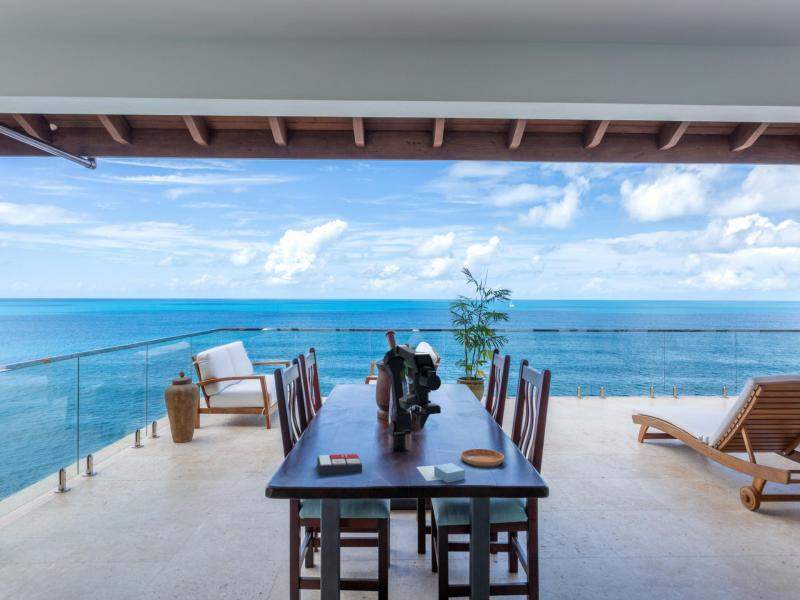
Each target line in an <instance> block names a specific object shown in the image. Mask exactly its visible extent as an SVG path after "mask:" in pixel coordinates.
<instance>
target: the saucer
mask: <svg viewBox="0 0 800 600" xmlns="http://www.w3.org/2000/svg"><path fill="white" fill-rule="evenodd" d="M460 457H461V459H462V461H463V462H464V463H466V464H467V465H471V466H475V467H482V468H483V467H484V468H487V467H488V468H489V467H494V468H496V467H498V466H499V465H500V464H502V463H503V461H504V459H505V456H504V454H503V453H501V452H499V451H496V450H492V449H487V448H471V449H466V450H464V451H462V452H461V453H460ZM470 457H471V458H470Z"/></svg>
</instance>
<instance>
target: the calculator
mask: <svg viewBox="0 0 800 600" xmlns="http://www.w3.org/2000/svg"><path fill="white" fill-rule="evenodd" d="M316 461H317V462H316V468H317V472H318V476H319V475H323V476H331V475H339V474H343V475H344V474H353V473H354V474H355V473H356V472H357V473H362V472H363V463H362V461H361V459H360V457H359V455H358V454H357V453H350V454H349V453H348V454H347V453H346V454H345V453H343V454H342V453H341V454H330V455H329V454H327V455H324V454H323V455H318V456H317V459H316Z"/></svg>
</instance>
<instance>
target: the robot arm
mask: <svg viewBox="0 0 800 600" xmlns="http://www.w3.org/2000/svg"><path fill="white" fill-rule="evenodd" d="M406 361H408V362H409V366H410V367H411V368H412V370H411V371H410V372H411V374H412V375H413V376H412V378H413V379H412V383H413V384H412V385H413V386H412V387H413V388H411V389H410V393H408V394H406V395H405V394H404V386H403V379H402V372H403V370H404V368H405V362H406ZM382 363H383V365H384V369H385V371H386V372H387V374H388V375H389V381H390V389H391V397H392V406H393V412H392V413H391V416H390V423H389V424H388V427H387V434H388V435H389V436H391V437H392V441H391V442H392V445H390V449H391V451H392V452H394V453H395V452H408V451H409V448H408V446H407V435H412V431H413V420H412V413H413V414H414V415H415V418H416V422H417V425H418V427H419V429H420V430H422V429H424V427H425V424H426V423H427V421H428V419H429V417H430V415H435V414H441V413H442V407H441V406H440V405H439V404H436V403H432V400H430V396H429V393H431V392H432V391H433V392H435V391H437V390H439V389H440V388H441V385H442V379H441V378H440V376H439V375H438V374H437V372H436V371H437V370H436V365H435V363H434V361H433V358H432V356H431V354H430V353H429V352H425V351H417V350H414V349H413V348H411V347H408V346H407V345H406V344H395V345H393V347H392V348H391V349H389V350H387V352H386V353H385V354H384V356H383V358H382ZM408 409H409V411H408ZM410 411H411V412H412V413H411V412H410Z"/></svg>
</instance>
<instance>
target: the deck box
mask: <svg viewBox="0 0 800 600" xmlns="http://www.w3.org/2000/svg"><path fill="white" fill-rule="evenodd" d="M433 466H434V475H435V476H437V477H439V478H440V479H442V480H441V481H444V482H445V483H452V482H457V481H461V480H462V481H463V480H465V479H466V477H465V476H466V473H465V471H466V470H465V469H463V468H462V467H460V466H458V465H456V464H454V463H452V462H449V463H443V464H437V466H435V465H433Z"/></svg>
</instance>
